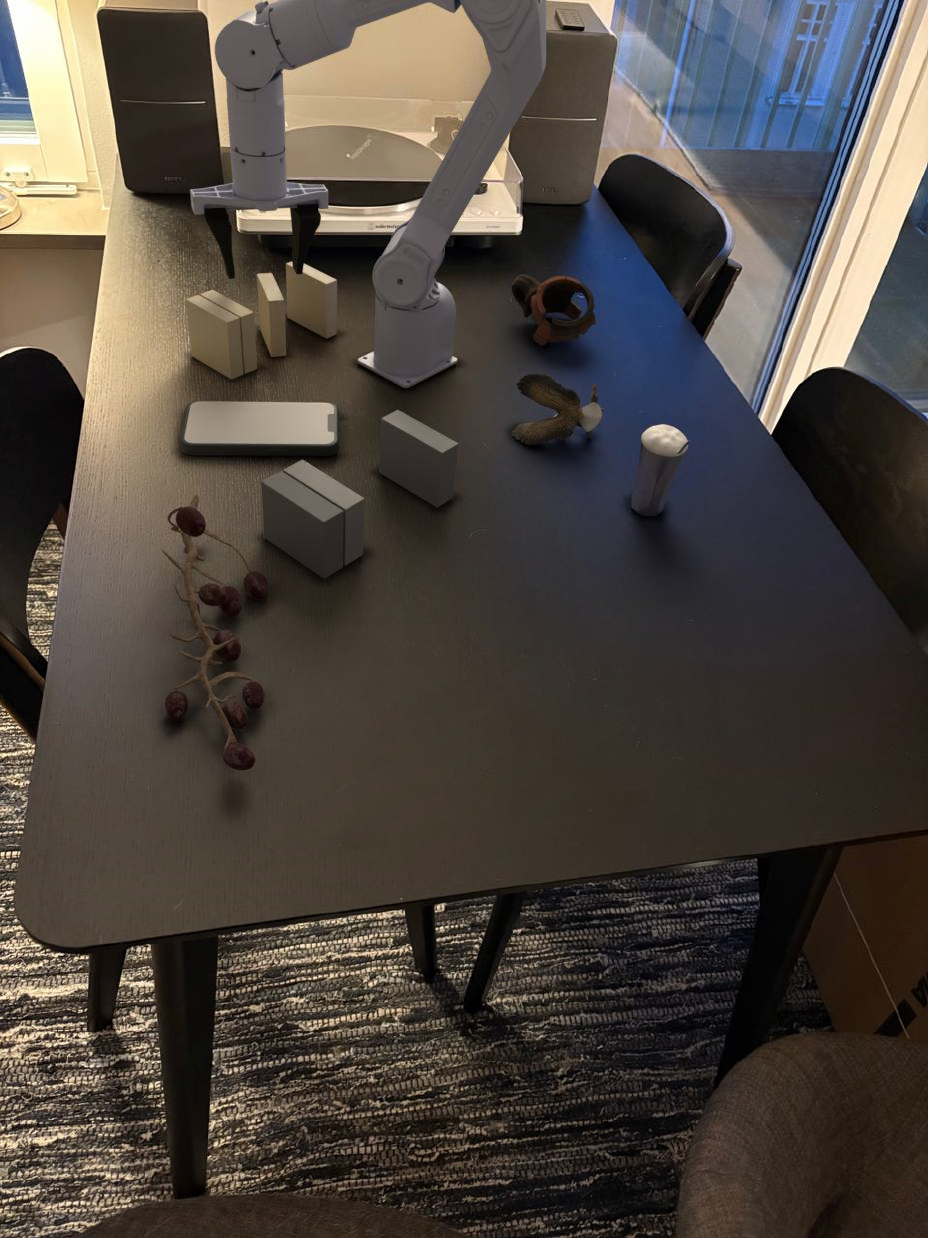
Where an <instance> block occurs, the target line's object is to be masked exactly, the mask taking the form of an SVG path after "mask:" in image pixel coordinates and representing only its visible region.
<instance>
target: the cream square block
mask: <svg viewBox="0 0 928 1238" xmlns="http://www.w3.org/2000/svg"><path fill="white" fill-rule="evenodd" d="M256 286H257V304H258V320H259V321H258V322H259V323H258V325H259V330H260V333H261V335H262V338H263V340H264V343H265V345H266V347H267V351H268V352H269V355H270V357H271V358H276V357H287V337H286V336H287V334H286V308H285V299H284V296H283V294H282V292H281V290H280V288H279V285H278V283H277V281H276V278H275V277H274V275H273V273H272V272H265V273H264V272H263V273H256Z"/></svg>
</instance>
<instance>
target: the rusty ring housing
mask: <svg viewBox="0 0 928 1238" xmlns="http://www.w3.org/2000/svg"><path fill="white" fill-rule="evenodd" d="M510 287H511V293H512V295H513V297H514V300H515V301H516V302H517V303H518V305H519V306H520V307H521V308H522V312H523V316H524V317H523V318H527V319H528V318H529V316H531V315H533V319H534V320H535V323H536V324H537V325H538V327H537V329H536V330H535V332H534V333H533V337H532V338H533V341H534V342H535V343H536V344H538V345H539V346H540V347H544V346H545V345H547V344H548V342H549V343H551V344H554V343H561V342H562V343H563V342H567V341H572V340H577V339H579V338H580V335H585V334H586V333H587V332H588V331H589V329H590V328H591V327H592V326H595V325H596V324H597V321H596V314H595V312H594V309H595V308H596V304H595V298H594V293H593V292H592V291H591V289H590V288H589V287H588V286H587V285H586V284H585V283H584V282H581V281H580V280H578V279H577V278H574V277H572V276H565V275H558V276H553V277H550V278H548V279H547V280H546V279H545V281H544V282H541V281H540V280H537V279H536V278H535V277H534V276H531V275H528V274H520V275H517V276H516V277H515V278H514V279H513V282H512V283H511V285H510ZM575 294H582V295H583V296H584V298H585V300H586V304H587V307H586V310H585V312H584V314H583V315H582V316H581V314H582V313H583V310H582V308H580V306H578V305H577V304H576V303H575V302H574V301H572V298H573V297H574V295H575ZM554 313H555V314H556V313H558V314H562V315H564V316H566V317H568V318H570V319H571V320H562V319H557V318H555V317H552V318H551V323H550V322H549V321H547V319H546V315H547V314H554Z"/></svg>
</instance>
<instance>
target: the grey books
mask: <svg viewBox="0 0 928 1238" xmlns="http://www.w3.org/2000/svg"><path fill="white" fill-rule="evenodd" d="M458 453H459V443H458V442H456V441H454V440H453V439H451V438H449V437H447V436H446V435H444V434H442V433H440V432H439V431H437V430H435V429H434V428H431V427H430V426H428V425H426V424H424V423H422V422H421V421H419V420H417V419H415V418H414V417H411V416H410V415H408V414H406V413H405V412H403V411H401V410H399V409H396V410H394V411H393V412H391V413H389V414H387V415H385V416H383V417H381V419H380V443H379V465H378V473H379V474H380V475H382V476H384V477H386V479H387V478H388V479H389V480H390V481H393V482H394V483H396V484H397V485H399V486H400V487H402V488H404V489H406V490H407V491H409V492H410V493H412V494H414V495H416V496H417V497H419V498H420V499H422V500H423V501H425V502H427V503H428V504H430V505H432V506H434V507H435V508H439V507H441V506H442V505H444V504H445V503H447V502H449V501H450V500H452V499H453V498H454V490H455V489H454V488H455V481H456V470H457V463H458V462H457V461H458ZM260 487H261V505H262V506H261V507H262V520H263V537H264V538H263V539H265V540H267V541H268V542H269V543H271V544H273V545H274V546H275V547H276V548H278V549H280V550H281V551H283V552H284V553H286V554H287V555H289V556H290V557H291V558H293V559H294V560H295V561H297V562H299V563H300V564H301V565H303V566H305V567H306V568H307V569H309V570H311V571H312V572H313V573H314V574H316V575H317V576H319V577H321V578H322V579H323V580H324V579H327V578H328V577H330V576H332V575H333V574H334V573H336V572H337V571H340V570H341V569H342V568H344V567H346V566H347V565H349V564H350V563H352V562H354V561H355V560H357V559H358V558H360V557H361V556H363V555H364V537H365V531H364V530H365V504H366V503H365V500H366V498H364V497H363V496H362V495H360V494H358V493H356V492H355V491H354V490H352V489H350V488H349V487H347V486H345V485H344V484H342V483H341V482H339V481H337V480H336V479H334V478H333V477H331V476H330V475H328V474H326V473H325V472H324V471H321V470H320V469H318V468H316V467H315V466H313V465H312V464H310V463H309V462H307V461H306V460H304V459H300V460H298V461H297V462H295V463H293V464H291V465H290V466H288V467H285V468H284V469H283V470H280V471H278V472H276V473H273V474H272V475H271V476H269V477H267V478H264V479H263V480H261V481H260Z"/></svg>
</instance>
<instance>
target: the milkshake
mask: <svg viewBox="0 0 928 1238" xmlns="http://www.w3.org/2000/svg"><path fill="white" fill-rule="evenodd" d="M691 442H692V440H688V439H687V437H686V436H685V434H684V433H683V432H682V431H681V430H679V429H678V428H676V427H674V426H672V425H668V424H664V423H662V424H657V425H651V426H650V427H648V428H646V429H645V431H643V432H642V434H641V437H640V444H639V445H640V446H639V453H638V460H637V467H636V473H635V479H634V484H633V490H632V495H631V503H630V507H631V509H632V510H633V511H634V512H635V513H636V514H639V515H641V516H644V517H657V516H658V515H659V514H662V512H663V509H664V508H665V505H666V503H667V499H668V498H669V495H670V493H671V489H672V487H673V485H674V482H675V479H676V476H677V474H678V472H679V470H680V467H681V464H682V462H683V460H684V457H685V456H686V453H687V450H688V448H689V444H690V443H691Z"/></svg>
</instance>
